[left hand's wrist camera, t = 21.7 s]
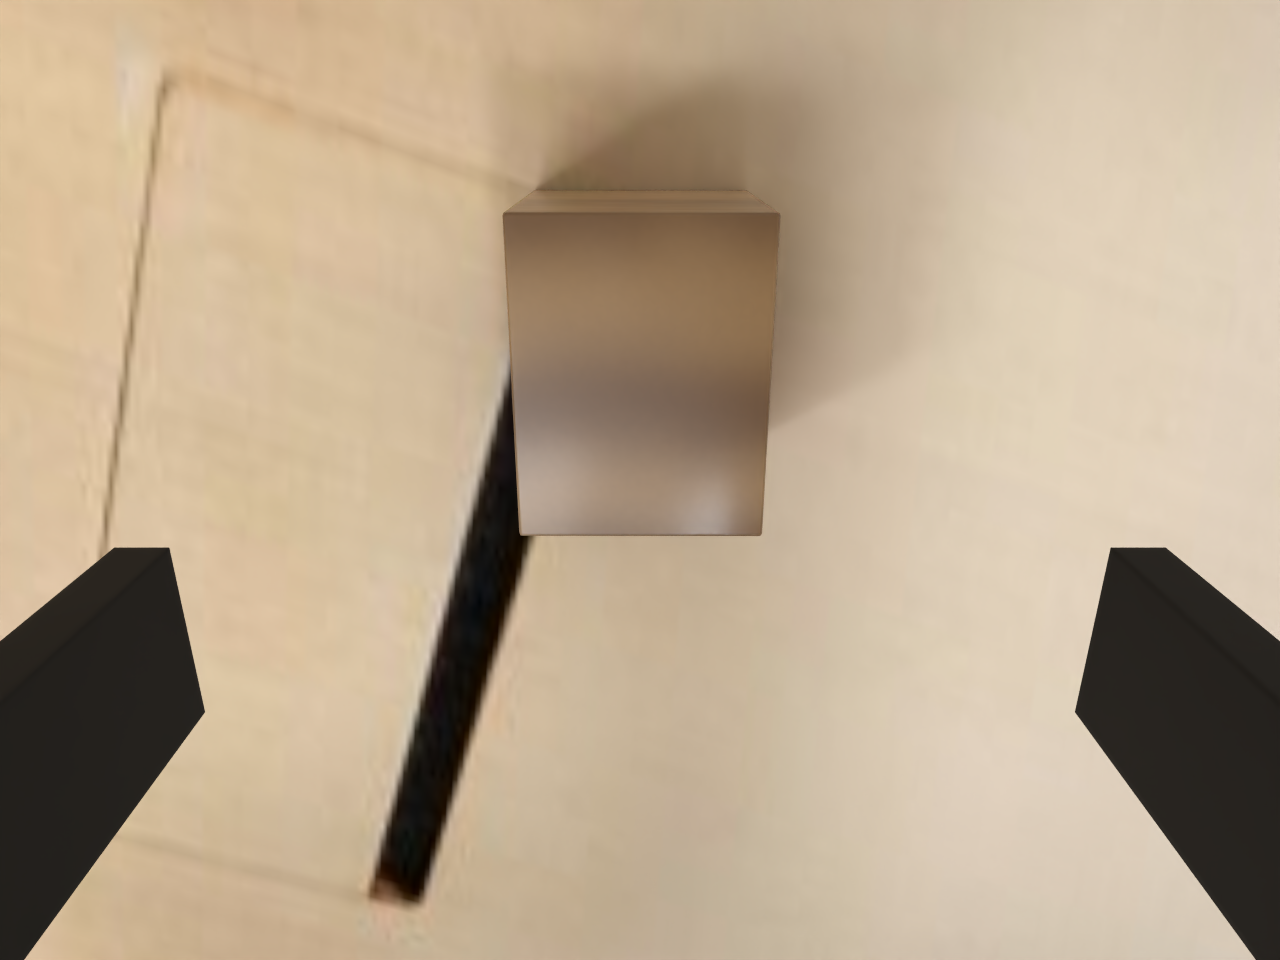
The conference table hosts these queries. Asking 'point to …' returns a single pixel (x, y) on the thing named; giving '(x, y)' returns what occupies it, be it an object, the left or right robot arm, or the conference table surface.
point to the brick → (641, 360)
